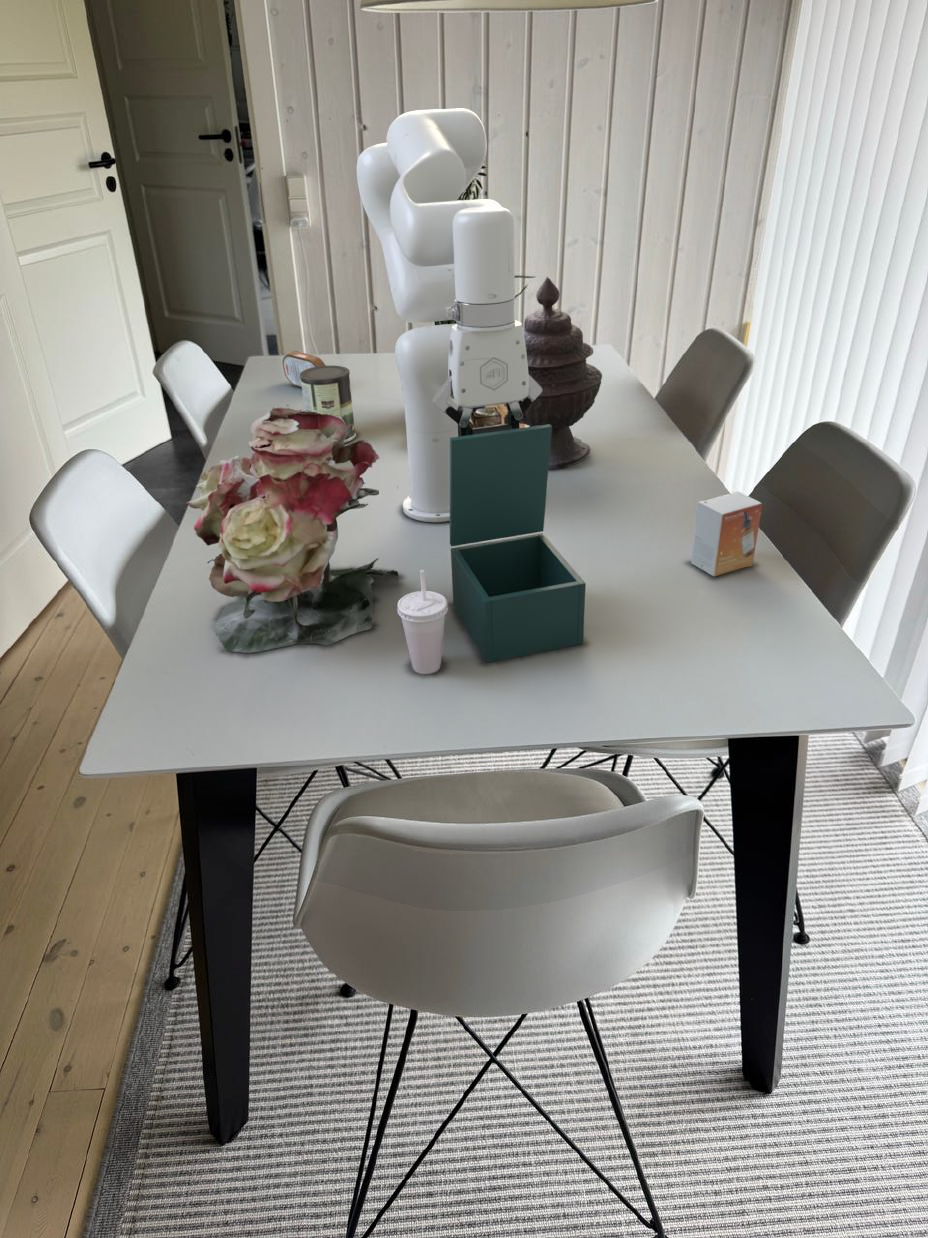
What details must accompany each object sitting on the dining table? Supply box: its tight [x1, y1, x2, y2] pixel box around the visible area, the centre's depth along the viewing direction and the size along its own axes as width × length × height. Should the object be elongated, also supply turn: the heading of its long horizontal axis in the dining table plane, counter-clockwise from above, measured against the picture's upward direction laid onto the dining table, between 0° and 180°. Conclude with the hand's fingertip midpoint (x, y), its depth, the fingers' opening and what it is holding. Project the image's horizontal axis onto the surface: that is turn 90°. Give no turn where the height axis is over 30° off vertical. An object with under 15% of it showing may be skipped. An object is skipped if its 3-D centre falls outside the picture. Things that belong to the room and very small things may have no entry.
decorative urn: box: [503, 276, 603, 470], centre depth 171 cm, size 20×20×35 cm
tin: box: [282, 350, 327, 389], centre depth 223 cm, size 15×3×8 cm, turn 49°
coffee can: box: [300, 365, 357, 444], centre depth 190 cm, size 10×10×14 cm
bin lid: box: [449, 423, 552, 548], centre depth 125 cm, size 17×14×5 cm
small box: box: [690, 490, 763, 578], centre depth 137 cm, size 8×6×10 cm
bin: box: [450, 532, 587, 664], centre depth 125 cm, size 16×14×9 cm
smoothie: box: [397, 569, 449, 675], centre depth 115 cm, size 6×6×14 cm
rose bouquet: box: [185, 404, 400, 654], centre depth 124 cm, size 26×29×30 cm
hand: (489, 447), depth 124 cm, fingers closed on bin lid, 5 cm apart
